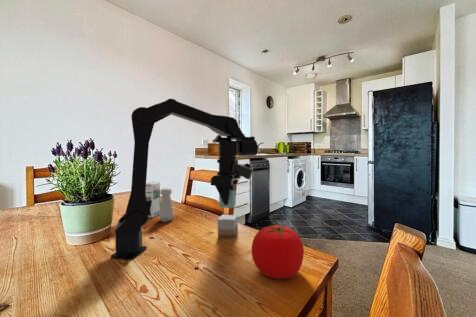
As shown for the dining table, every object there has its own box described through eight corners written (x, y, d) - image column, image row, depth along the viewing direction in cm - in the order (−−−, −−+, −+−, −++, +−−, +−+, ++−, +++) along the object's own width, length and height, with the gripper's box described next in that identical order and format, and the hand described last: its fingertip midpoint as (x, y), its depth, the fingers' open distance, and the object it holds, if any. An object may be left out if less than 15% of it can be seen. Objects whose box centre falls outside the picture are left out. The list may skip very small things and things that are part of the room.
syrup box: (153, 217, 87) (152, 183, 87) (141, 216, 88) (140, 183, 88) (161, 213, 93) (160, 181, 92) (149, 213, 94) (148, 181, 93)
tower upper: (234, 229, 66) (234, 220, 66) (217, 228, 67) (217, 219, 67) (237, 224, 71) (237, 215, 71) (222, 223, 72) (222, 214, 72)
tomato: (278, 296, 39) (278, 242, 39) (241, 268, 49) (241, 225, 49) (315, 274, 46) (315, 228, 46) (276, 253, 56) (276, 215, 56)
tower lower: (234, 239, 66) (234, 229, 66) (218, 237, 67) (217, 228, 67) (237, 232, 71) (237, 223, 71) (222, 231, 72) (222, 222, 72)
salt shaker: (164, 223, 80) (163, 190, 79) (156, 220, 83) (155, 188, 83) (176, 219, 84) (176, 188, 84) (168, 217, 88) (168, 186, 87)
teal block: (233, 207, 66) (232, 192, 66) (219, 207, 67) (219, 192, 67) (235, 204, 71) (235, 190, 70) (222, 203, 71) (222, 189, 71)
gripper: (248, 157, 58) (248, 212, 58) (254, 155, 76) (254, 197, 77) (209, 157, 60) (210, 210, 60) (225, 155, 78) (225, 196, 79)
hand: (227, 202), depth 69 cm, fingers closed on teal block, 4 cm apart
